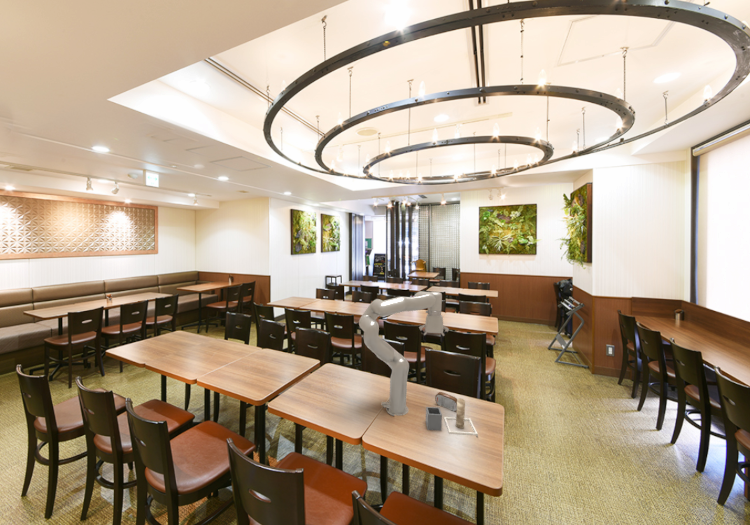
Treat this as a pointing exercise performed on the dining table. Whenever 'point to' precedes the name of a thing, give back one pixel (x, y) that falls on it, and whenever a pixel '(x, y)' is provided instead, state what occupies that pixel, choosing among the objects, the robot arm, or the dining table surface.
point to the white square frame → (461, 432)
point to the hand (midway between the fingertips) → (433, 341)
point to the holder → (433, 418)
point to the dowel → (460, 413)
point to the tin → (446, 401)
